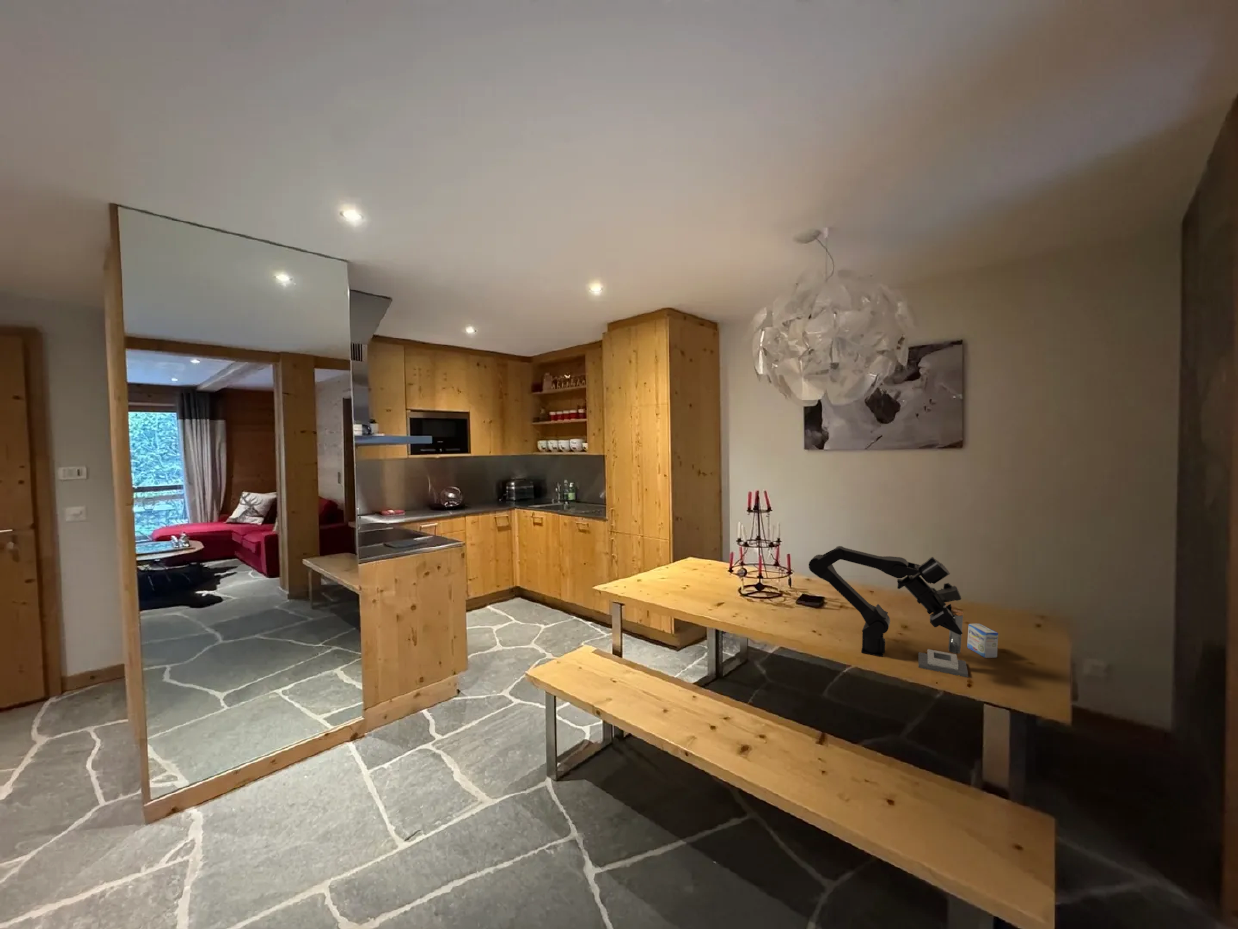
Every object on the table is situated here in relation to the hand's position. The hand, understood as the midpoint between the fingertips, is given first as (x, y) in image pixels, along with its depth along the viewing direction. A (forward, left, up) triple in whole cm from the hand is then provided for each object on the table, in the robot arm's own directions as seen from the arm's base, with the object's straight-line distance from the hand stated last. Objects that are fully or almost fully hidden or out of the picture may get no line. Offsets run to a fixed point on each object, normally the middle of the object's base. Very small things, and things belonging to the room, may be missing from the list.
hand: (960, 632), depth 156 cm
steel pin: (-1, 0, -7) cm, 7 cm away
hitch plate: (-5, 0, -12) cm, 13 cm away
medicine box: (+7, +17, -12) cm, 23 cm away
